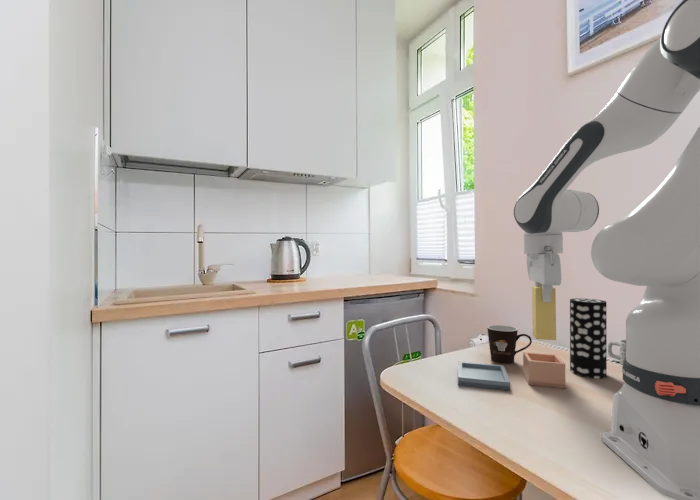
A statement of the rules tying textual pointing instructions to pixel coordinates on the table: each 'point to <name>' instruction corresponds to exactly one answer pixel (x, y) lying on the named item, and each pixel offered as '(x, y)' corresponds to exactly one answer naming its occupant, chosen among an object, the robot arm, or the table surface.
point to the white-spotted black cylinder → (588, 338)
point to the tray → (483, 375)
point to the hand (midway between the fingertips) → (543, 300)
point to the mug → (622, 350)
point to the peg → (543, 315)
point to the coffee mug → (504, 343)
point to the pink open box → (544, 370)
